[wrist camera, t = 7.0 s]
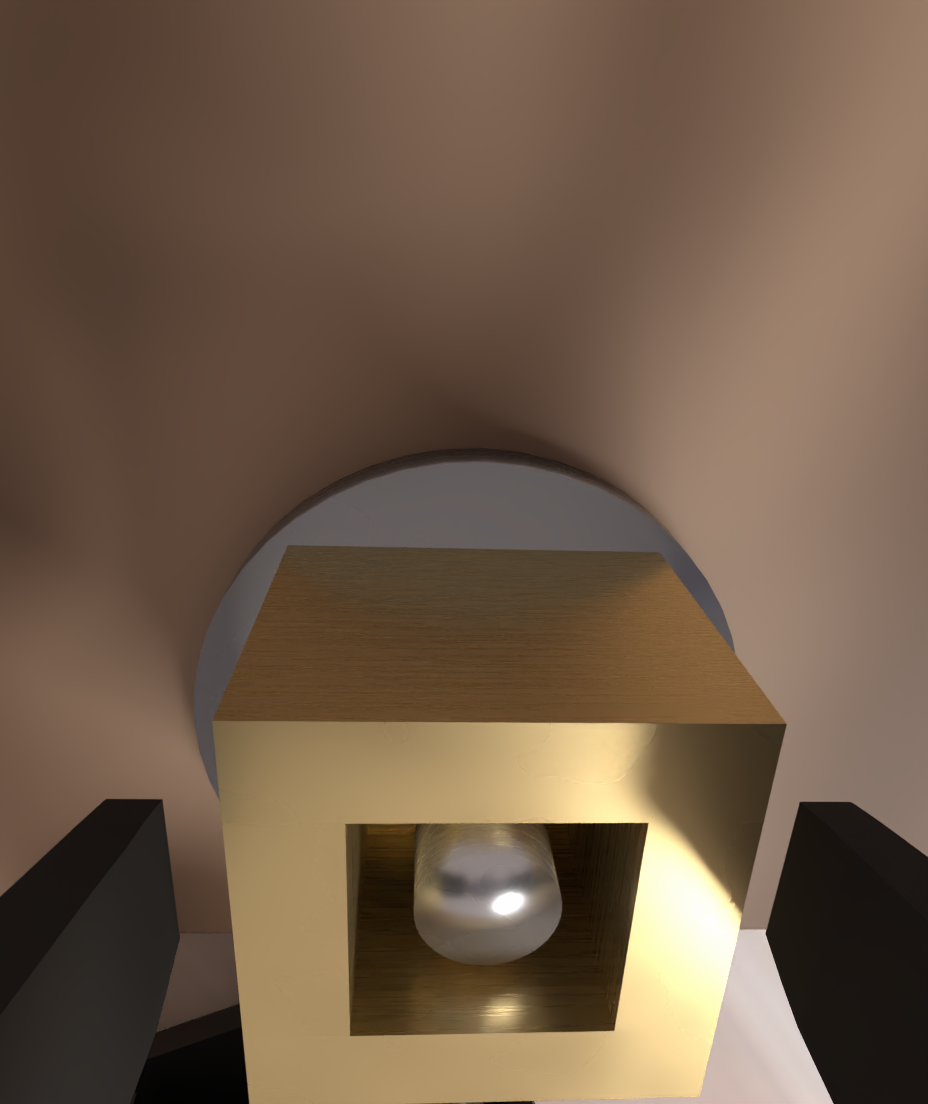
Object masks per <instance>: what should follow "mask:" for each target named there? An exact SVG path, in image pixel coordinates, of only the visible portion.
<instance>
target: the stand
mask: <svg viewBox="0 0 928 1104" xmlns="http://www.w3.org/2000/svg"><path fill="white" fill-rule="evenodd" d="M288 545H304V546H357V547H410V548H463V549H516V550H569V551H622V552H660V553H661V555H662V556H663V557H664V559H665V560H666V561H667V563H668V564H669V565H670V567H671V568H672V569H673V571H674V572H675V574H676V575H677V576H678V578H679V579H680V580H681V582H682V583H683V584H684V586H685V587H686V588H687V590H688V591H689V592H690V594H691V595H692V597H693V598H694V599H695V601H696V602H697V603H698V605H699V606H700V607H701V609H702V610H703V611H704V613H705V614H706V615H707V617H708V618H709V619H710V621H711V622H712V624H713V625H714V626H715V628H716V629H717V630H718V632H719V633H720V634H721V636H722V637H723V638H724V640H725V641H726V642H727V644H728V645H729V647H730V648H731V649H732V651H733V652H734V653H735V649H734V644H733V638H732V635H731V632H730V629H729V627H728V624H727V621H726V618H725V615H724V612H723V609H722V607H721V605H720V603H719V601H718V600H717V598H716V596H715V594H714V592H713V590H712V588H711V586H710V584H709V583H708V581H707V579H706V578H705V577H704V575H703V574H702V573H701V571H700V570H699V569H698V567H697V566H696V564H695V563H694V562H693V560H692V559H691V558H690V556H689V555H688V554H687V553H686V551H685V550H684V549H683V548H682V546H681V545H680V544H679V543H678V542H677V540H676V539H675V538H674V537H673V536H672V534H671V533H670V532H669V531H668V530H667V529H666V528H665V527H664V526H663V525H662V524H661V523H660V522H659V521H658V520H657V519H656V518H655V517H654V516H653V515H652V514H651V513H650V512H649V511H648V510H647V509H645V508H644V507H643V506H641V505H640V504H639V503H637V502H636V501H635V500H633V499H632V498H631V497H629V496H628V495H626V494H625V493H624V492H622V491H621V490H620V489H618V488H616V487H614V486H612V485H611V484H609V483H607V482H605V481H603V480H601V479H599V478H598V477H596V476H594V475H592V474H590V473H588V472H585V471H583V470H580V469H578V468H575V467H572V466H570V465H567V464H564V463H562V462H559V461H556V460H553V459H548V458H544V457H540V456H535V455H531V454H527V453H522V452H517V451H507V450H497V449H486V448H466V449H442V450H435V451H429V452H423V453H417V454H410V455H405V456H402V457H398V458H395V459H391V460H388V461H385V462H381V463H378V464H374V465H371V466H368V467H366V468H364V469H362V470H359V471H357V472H355V473H353V474H350V475H348V476H346V477H344V478H341V479H339V480H337V481H335V482H333V483H332V484H330V485H328V486H327V487H325V488H323V489H322V490H320V491H319V492H317V493H315V494H314V495H312V496H310V497H309V498H307V499H305V500H304V501H303V502H302V503H300V504H299V505H298V506H297V507H296V508H294V509H293V510H292V511H291V512H289V513H288V514H287V515H286V516H285V517H283V518H282V519H281V520H280V521H278V522H277V523H276V524H275V525H274V527H273V528H272V529H271V530H270V531H269V532H268V533H267V534H266V535H265V536H264V537H263V538H262V540H261V541H260V542H259V543H258V544H257V545H256V546H255V547H254V548H253V550H252V551H251V553H250V554H249V556H248V557H247V559H246V560H245V562H244V563H243V565H242V566H241V567H240V569H239V570H238V572H237V573H236V575H235V577H234V578H233V580H232V582H231V584H230V586H229V588H228V589H227V591H226V593H225V595H224V597H223V599H222V601H221V603H220V605H219V607H218V609H217V611H216V613H215V615H214V617H213V619H212V621H211V623H210V625H209V628H208V630H207V633H206V636H205V640H204V643H203V646H202V649H201V653H200V656H199V659H198V665H197V672H196V679H195V687H194V724H195V729H196V735H197V740H198V746H199V751H200V755H201V758H202V761H203V764H204V767H205V770H206V772H207V775H208V778H209V781H210V783H211V785H212V787H213V789H214V791H215V793H216V795H217V797H218V799H219V800H220V797H219V786H218V776H217V766H216V756H215V745H214V735H213V725H212V720H213V718H214V715H215V713H216V711H217V709H218V706H219V704H220V702H221V699H222V697H223V695H224V692H225V690H226V688H227V685H228V683H229V681H230V678H231V676H232V674H233V671H234V669H235V667H236V664H237V662H238V660H239V657H240V655H241V653H242V650H243V648H244V646H245V643H246V641H247V639H248V636H249V634H250V632H251V629H252V627H253V625H254V622H255V620H256V618H257V616H258V613H259V611H260V609H261V606H262V604H263V602H264V599H265V597H266V595H267V592H268V590H269V588H270V585H271V583H272V581H273V578H274V576H275V574H276V571H277V569H278V567H279V564H280V562H281V560H282V557H283V555H284V553H285V550H286V548H287V546H288ZM561 913H562V898H561V893H560V888H559V883H558V879H557V874H556V869H555V864H554V859H553V855H552V850H551V845H550V840H549V835H548V831H547V826H546V823H417V824H415V849H414V921H415V925H416V928H417V930H418V932H419V934H420V936H421V937H422V939H423V940H424V941H425V942H426V943H427V945H428V946H430V947H431V948H432V949H433V950H434V951H436V952H437V953H439V954H440V955H442V956H444V957H446V958H449V959H451V960H454V961H457V962H461V963H465V964H472V965H495V964H501V963H506V962H510V961H513V960H516V959H519V958H521V957H523V956H526V955H528V954H529V953H531V952H533V951H534V950H536V949H537V948H539V947H540V946H541V945H543V944H544V943H545V942H546V941H547V940H548V939H549V937H550V936H551V935H552V934H553V932H554V931H555V929H556V927H557V926H558V923H559V921H560V918H561Z"/></svg>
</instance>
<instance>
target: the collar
mask: <svg viewBox="0 0 928 1104" xmlns="http://www.w3.org/2000/svg"><path fill="white" fill-rule="evenodd" d="M212 725H213V735H214V745H215V756H216V766H217V776H218V786H219V797H220V807H221V817H222V827H223V838H224V848H225V858H226V868H227V879H228V889H229V899H230V909H231V919H232V930H233V940H234V950H235V960H236V971H237V981H238V991H239V1001H240V1012H241V1022H242V1032H243V1042H244V1053H245V1063H246V1073H247V1083H248V1094H249V1104H423V1103H464V1102H505V1101H546V1100H587V1099H628V1098H669V1097H700V1092H701V1088H702V1084H703V1080H704V1075H705V1071H706V1067H707V1063H708V1058H709V1054H710V1050H711V1046H712V1041H713V1037H714V1033H715V1028H716V1024H717V1020H718V1016H719V1011H720V1007H721V1003H722V999H723V994H724V990H725V986H726V982H727V977H728V973H729V969H730V964H731V960H732V956H733V952H734V947H735V943H736V939H737V935H738V930H739V926H740V922H741V918H742V913H743V909H744V905H745V900H746V896H747V892H748V888H749V883H750V879H751V875H752V871H753V866H754V862H755V858H756V854H757V849H758V845H759V841H760V836H761V832H762V828H763V824H764V819H765V815H766V811H767V807H768V802H769V798H770V794H771V790H772V785H773V781H774V777H775V772H776V768H777V764H778V760H779V755H780V751H781V747H782V743H783V738H784V734H785V730H786V726H787V724H786V722H785V721H784V719H783V718H782V717H781V715H780V714H779V713H778V711H777V710H776V709H775V707H774V706H773V705H772V703H771V702H770V701H769V699H768V698H767V697H766V695H765V694H764V692H763V691H762V690H761V688H760V687H759V686H758V684H757V683H756V682H755V680H754V679H753V678H752V676H751V675H750V674H749V672H748V671H747V669H746V668H745V667H744V665H743V664H742V663H741V661H740V660H739V659H738V657H737V656H736V655H735V653H734V652H733V651H732V649H731V648H730V647H729V645H728V644H727V642H726V641H725V640H724V638H723V637H722V636H721V634H720V633H719V632H718V630H717V629H716V628H715V626H714V625H713V624H712V622H711V621H710V619H709V618H708V617H707V615H706V614H705V613H704V611H703V610H702V609H701V607H700V606H699V605H698V603H697V602H696V601H695V599H694V598H693V597H692V595H691V594H690V592H689V591H688V590H687V588H686V587H685V586H684V584H683V583H682V582H681V580H680V579H679V578H678V576H677V575H676V574H675V572H674V571H673V569H672V568H671V567H670V565H669V564H668V563H667V561H666V560H665V559H664V557H663V556H662V555H661V553H660V552H622V551H569V550H516V549H463V548H410V547H357V546H304V545H288V546H287V548H286V550H285V553H284V555H283V557H282V560H281V562H280V564H279V567H278V569H277V571H276V574H275V576H274V578H273V581H272V583H271V585H270V588H269V590H268V592H267V595H266V597H265V599H264V602H263V604H262V606H261V609H260V611H259V613H258V616H257V618H256V620H255V622H254V625H253V627H252V629H251V632H250V634H249V636H248V639H247V641H246V643H245V646H244V648H243V650H242V653H241V655H240V657H239V660H238V662H237V664H236V667H235V669H234V671H233V674H232V676H231V678H230V681H229V683H228V685H227V688H226V690H225V692H224V695H223V697H222V699H221V702H220V704H219V706H218V709H217V711H216V713H215V715H214V718H213V720H212ZM417 823H546V826H547V831H548V835H549V840H550V845H551V850H552V855H553V859H554V864H555V869H556V874H557V879H558V883H559V888H560V893H561V898H562V913H561V918H560V921H559V923H558V926H557V927H556V929H555V931H554V932H553V934H552V935H551V936H550V937H549V939H548V940H547V941H546V942H545V943H544V944H543V945H541V946H540V947H539V948H537V949H536V950H534V951H533V952H531V953H529V954H528V955H526V956H523V957H521V958H519V959H516V960H513V961H510V962H506V963H501V964H495V965H472V964H465V963H461V962H457V961H454V960H451V959H449V958H446V957H444V956H442V955H440V954H439V953H437V952H436V951H434V950H433V949H432V948H431V947H430V946H428V945H427V943H426V942H425V941H424V940H423V939H422V937H421V936H420V934H419V932H418V930H417V928H416V925H415V921H414V849H415V824H417Z"/></svg>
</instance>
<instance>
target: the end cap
mask: <svg viewBox="0 0 928 1104" xmlns="http://www.w3.org/2000/svg"><path fill="white" fill-rule="evenodd" d="M130 1104H249V1094H248V1083H247V1073H246V1063H245V1053H244V1042H243V1032H242V1022H241V1012H240V1004H238V1005H235V1006H232V1007H229V1008H227V1009H224V1010H221V1011H218V1012H215V1013H212V1014H209V1015H206V1016H203V1017H201V1018H198V1019H195V1020H192V1021H189V1022H186V1023H183V1024H180V1025H177V1026H175V1027H172V1028H169V1029H166V1030H163V1031H160V1032H157V1033H155V1037H154V1039H153V1042H152V1045H151V1048H150V1051H149V1053H148V1056H147V1059H146V1062H145V1065H144V1067H143V1070H142V1073H141V1075H140V1078H139V1081H138V1084H137V1086H136V1089H135V1092H134V1094H133V1097H132V1100H131V1103H130ZM423 1104H535V1102H534V1101H505V1102H464V1103H423Z"/></svg>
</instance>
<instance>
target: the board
mask: <svg viewBox="0 0 928 1104" xmlns="http://www.w3.org/2000/svg"><path fill="white" fill-rule="evenodd" d="M466 448H486V449H497V450H507V451H517V452H522V453H527V454H531V455H535V456H540V457H544V458H548V459H553V460H556V461H559V462H562V463H564V464H567V465H570V466H572V467H575V468H578V469H580V470H583V471H585V472H588V473H590V474H592V475H594V476H596V477H598V478H599V479H601V480H603V481H605V482H607V483H609V484H611V485H612V486H614V487H616V488H618V489H620V490H621V491H622V492H624V493H625V494H626V495H628V496H629V497H631V498H632V499H633V500H635V501H636V502H637V503H639V504H640V505H641V506H643V507H644V508H645V509H647V510H648V511H649V512H650V513H651V514H652V515H653V516H654V517H655V518H656V519H657V520H658V521H659V522H660V523H661V524H662V525H663V526H664V527H665V528H666V529H667V530H668V531H669V532H670V533H671V534H672V536H673V537H674V538H675V539H676V540H677V542H678V543H679V544H680V545H681V546H682V548H683V549H684V550H685V551H686V553H687V554H688V555H689V556H690V558H691V559H692V560H693V562H694V563H695V564H696V566H697V567H698V569H699V570H700V571H701V573H702V574H703V575H704V577H705V578H706V579H707V581H708V583H709V584H710V586H711V588H712V590H713V592H714V594H715V596H716V598H717V600H718V601H719V603H720V605H721V607H722V609H723V612H724V615H725V618H726V621H727V624H728V627H729V629H730V632H731V635H732V638H733V644H734V649H735V655H736V656H737V657H738V659H739V660H740V661H741V663H742V664H743V665H744V667H745V668H746V669H747V671H748V672H749V674H750V675H751V676H752V678H753V679H754V680H755V682H756V683H757V684H758V686H759V687H760V688H761V690H762V691H763V692H764V694H765V695H766V697H767V698H768V699H769V701H770V702H771V703H772V705H773V706H774V707H775V709H776V710H777V711H778V713H779V714H780V715H781V717H782V718H783V719H784V721H785V722H786V724H787V726H786V730H785V734H784V738H783V743H782V747H781V751H780V755H779V760H778V764H777V768H776V772H775V777H774V781H773V785H772V790H771V794H770V798H769V802H768V807H767V811H766V815H765V819H764V824H763V828H762V832H761V836H760V841H759V845H758V849H757V854H756V858H755V862H754V866H753V871H752V875H751V879H750V883H749V888H748V892H747V896H746V900H745V905H744V909H743V913H742V918H741V922H740V926H739V929H767V926H768V922H769V918H770V914H771V911H772V907H773V903H774V899H775V895H776V891H777V888H778V884H779V880H780V876H781V872H782V868H783V865H784V861H785V857H786V853H787V849H788V845H789V842H790V838H791V834H792V830H793V826H794V822H795V819H796V815H797V811H798V807H799V803H800V802H852V803H854V804H855V805H857V806H858V807H860V808H861V809H862V810H864V811H865V812H867V813H868V814H870V815H871V816H873V817H874V818H875V819H877V820H878V821H880V822H881V823H883V824H884V825H885V826H887V827H888V828H889V829H891V830H892V831H894V832H895V833H896V834H898V835H899V836H900V837H902V838H903V839H904V840H906V841H907V842H908V843H910V844H911V845H912V846H914V847H915V848H916V849H918V850H919V851H921V852H922V853H923V854H925V855H926V856H927V857H928V0H0V896H1V895H2V894H3V893H4V892H5V891H6V890H8V889H9V888H10V887H11V886H12V885H13V884H14V883H15V882H16V881H17V880H18V879H19V878H21V877H22V876H23V875H24V874H25V873H26V872H27V871H28V870H29V869H30V868H31V867H32V866H33V865H34V864H36V863H37V862H38V861H39V860H40V859H41V858H42V857H43V856H44V855H45V854H46V853H47V852H48V851H49V850H51V849H52V848H53V847H54V846H55V845H56V844H57V843H58V842H59V841H60V840H61V839H62V838H63V837H64V836H66V835H67V834H68V833H69V832H70V831H71V830H72V829H73V828H74V827H75V826H76V825H77V824H78V823H80V822H81V821H82V820H83V819H84V818H85V817H86V816H87V815H88V814H90V813H91V812H92V811H93V810H94V809H95V808H96V807H97V806H98V805H100V804H101V803H102V802H103V801H104V800H105V799H163V807H164V815H165V823H166V831H167V839H168V847H169V855H170V863H171V871H172V879H173V887H174V895H175V903H176V911H177V919H178V927H179V933H233V930H232V919H231V909H230V899H229V889H228V879H227V868H226V858H225V848H224V838H223V827H222V817H221V807H220V800H219V799H218V797H217V795H216V793H215V791H214V789H213V787H212V785H211V783H210V781H209V778H208V775H207V772H206V770H205V767H204V764H203V761H202V758H201V755H200V751H199V746H198V740H197V735H196V729H195V724H194V687H195V679H196V672H197V665H198V659H199V656H200V653H201V649H202V646H203V643H204V640H205V636H206V633H207V630H208V628H209V625H210V623H211V621H212V619H213V617H214V615H215V613H216V611H217V609H218V607H219V605H220V603H221V601H222V599H223V597H224V595H225V593H226V591H227V589H228V588H229V586H230V584H231V582H232V580H233V578H234V577H235V575H236V573H237V572H238V570H239V569H240V567H241V566H242V565H243V563H244V562H245V560H246V559H247V557H248V556H249V554H250V553H251V551H252V550H253V548H254V547H255V546H256V545H257V544H258V543H259V542H260V541H261V540H262V538H263V537H264V536H265V535H266V534H267V533H268V532H269V531H270V530H271V529H272V528H273V527H274V525H275V524H276V523H277V522H278V521H280V520H281V519H282V518H283V517H285V516H286V515H287V514H288V513H289V512H291V511H292V510H293V509H294V508H296V507H297V506H298V505H299V504H300V503H302V502H303V501H304V500H305V499H307V498H309V497H310V496H312V495H314V494H315V493H317V492H319V491H320V490H322V489H323V488H325V487H327V486H328V485H330V484H332V483H333V482H335V481H337V480H339V479H341V478H344V477H346V476H348V475H350V474H353V473H355V472H357V471H359V470H362V469H364V468H366V467H368V466H371V465H374V464H378V463H381V462H385V461H388V460H391V459H395V458H398V457H402V456H405V455H410V454H417V453H423V452H429V451H435V450H442V449H466Z"/></svg>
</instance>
